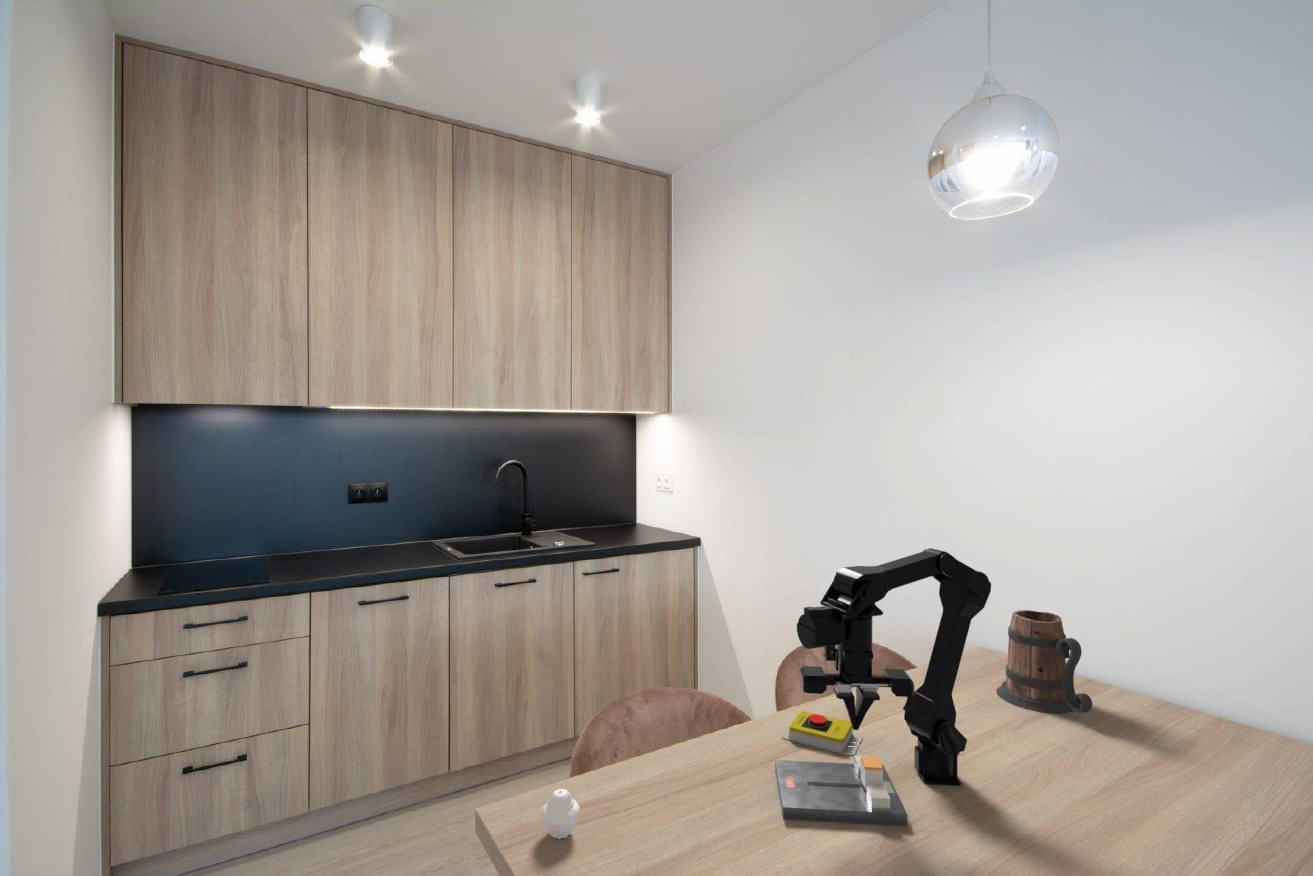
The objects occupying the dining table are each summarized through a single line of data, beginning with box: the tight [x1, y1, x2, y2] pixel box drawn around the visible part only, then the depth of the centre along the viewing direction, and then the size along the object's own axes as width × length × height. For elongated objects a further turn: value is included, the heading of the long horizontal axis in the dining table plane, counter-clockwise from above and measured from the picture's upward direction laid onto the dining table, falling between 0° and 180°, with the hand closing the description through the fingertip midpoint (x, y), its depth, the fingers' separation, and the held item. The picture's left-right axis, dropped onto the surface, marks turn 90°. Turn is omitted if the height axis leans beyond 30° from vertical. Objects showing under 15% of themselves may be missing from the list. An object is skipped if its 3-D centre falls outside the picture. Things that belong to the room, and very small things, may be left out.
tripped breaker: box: [861, 755, 883, 790], centre depth 111 cm, size 3×4×4 cm
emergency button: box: [781, 710, 864, 756], centre depth 133 cm, size 9×4×15 cm
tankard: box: [995, 609, 1093, 715], centre depth 148 cm, size 24×17×20 cm
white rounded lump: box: [540, 788, 581, 840], centre depth 102 cm, size 6×6×7 cm
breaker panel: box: [774, 754, 908, 827], centre depth 112 cm, size 20×15×4 cm
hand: (855, 729), depth 112 cm, fingers closed
